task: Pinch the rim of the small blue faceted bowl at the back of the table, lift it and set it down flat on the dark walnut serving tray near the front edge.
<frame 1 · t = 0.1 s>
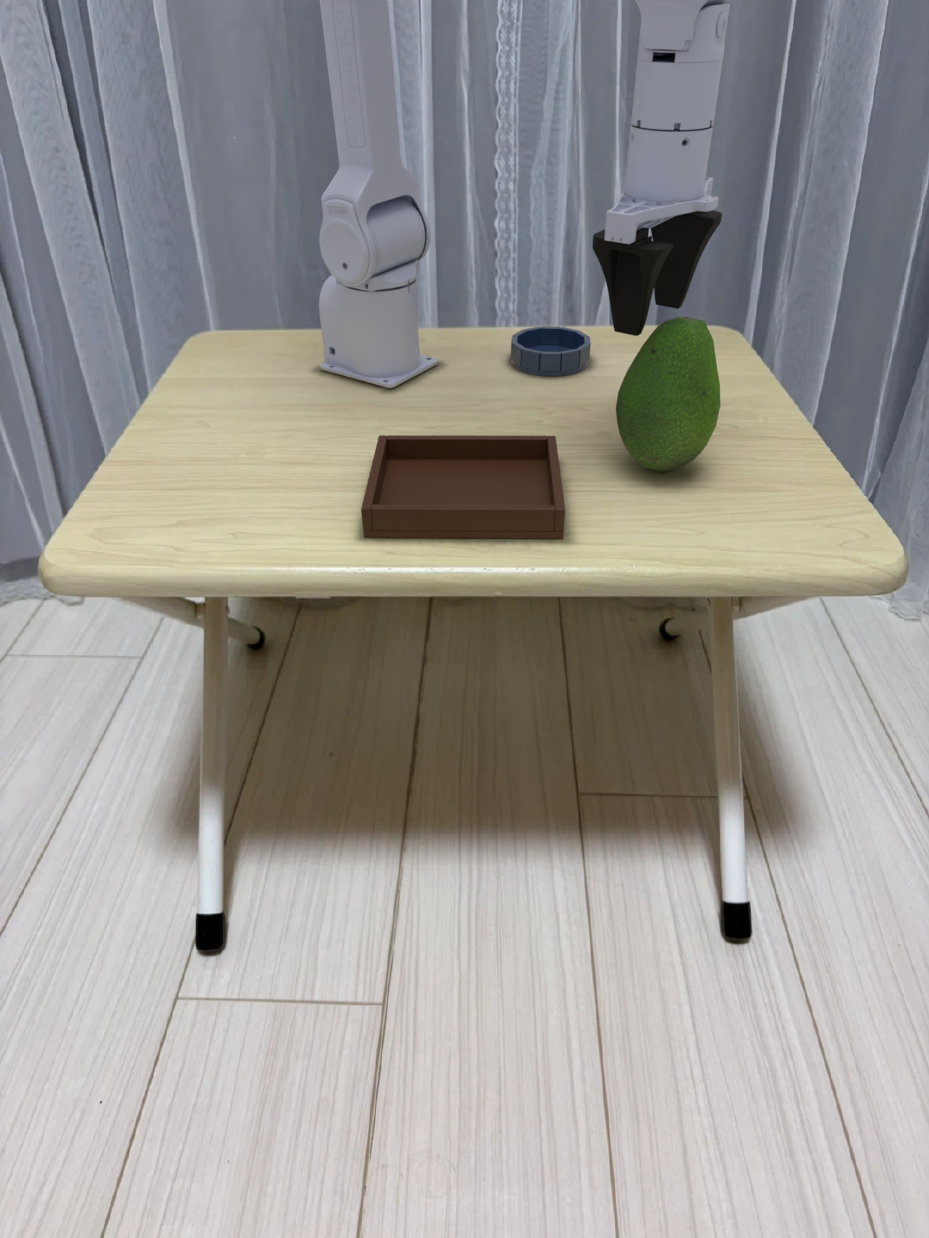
hand: (648, 318, 69), 10 cm above the table, tool pointing down, fingers open, 7 cm apart
fruit: (658, 467, 71), on the table
blue faceted bowl: (549, 361, 89), on the table
tray: (465, 497, 67), on the table
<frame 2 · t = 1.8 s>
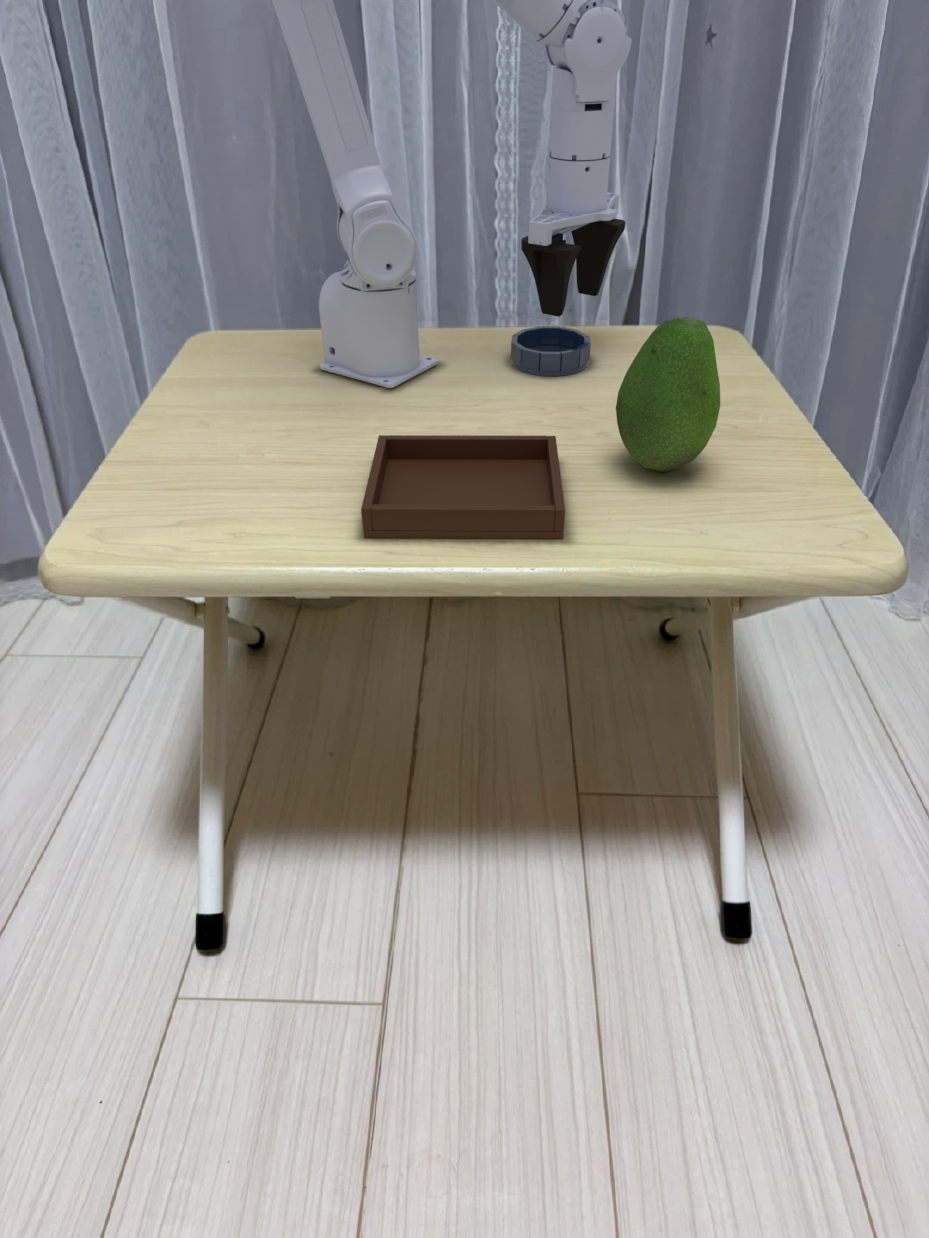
hand: (570, 304, 89), 5 cm above the table, tool pointing down, fingers open, 7 cm apart
nothing on the table moved.
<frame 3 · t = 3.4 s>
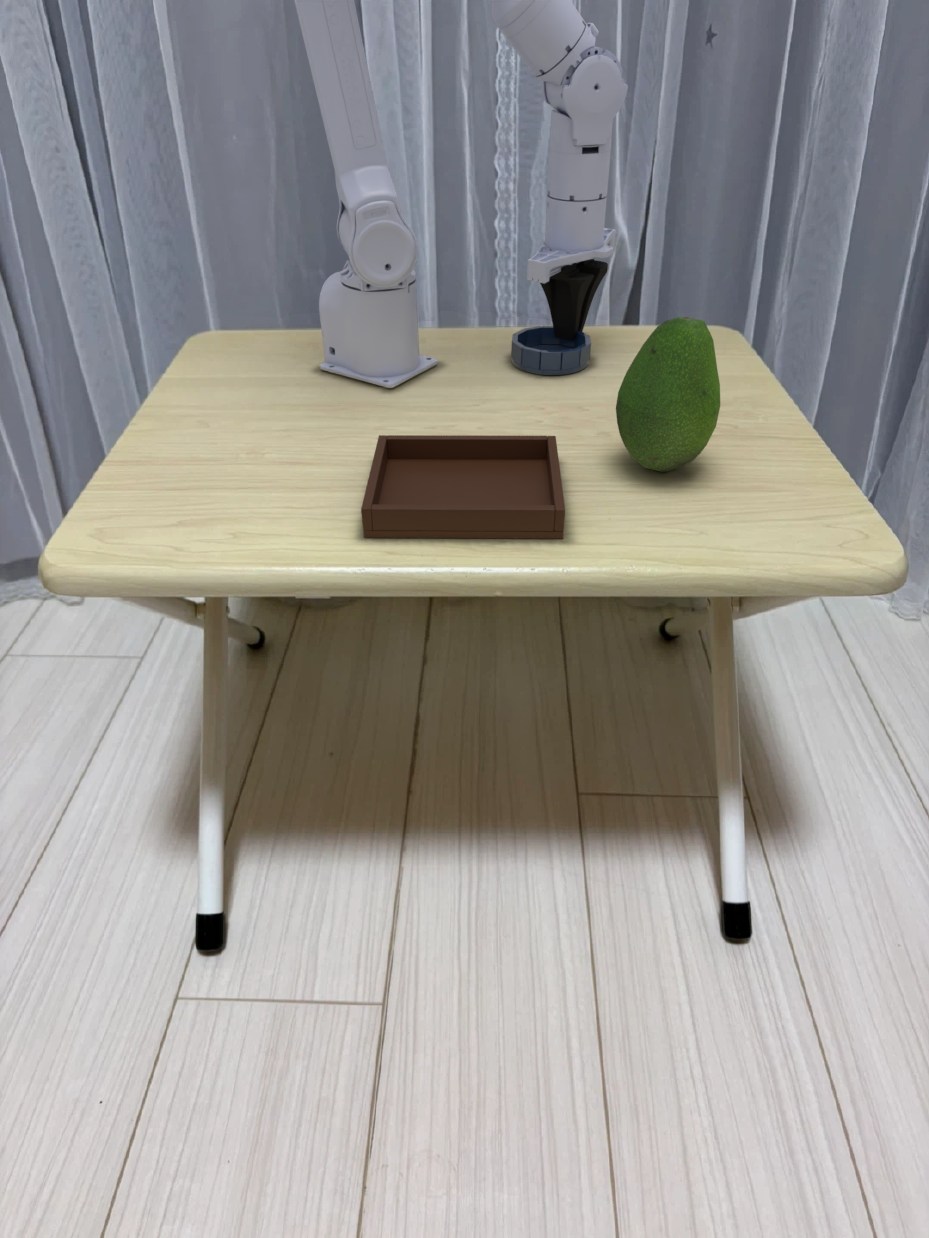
hand: (568, 336, 91), 2 cm above the table, tool pointing down, fingers closed on blue faceted bowl, 1 cm apart
blue faceted bowl: (550, 360, 89), on the table, touching gripper
everything else where it was.
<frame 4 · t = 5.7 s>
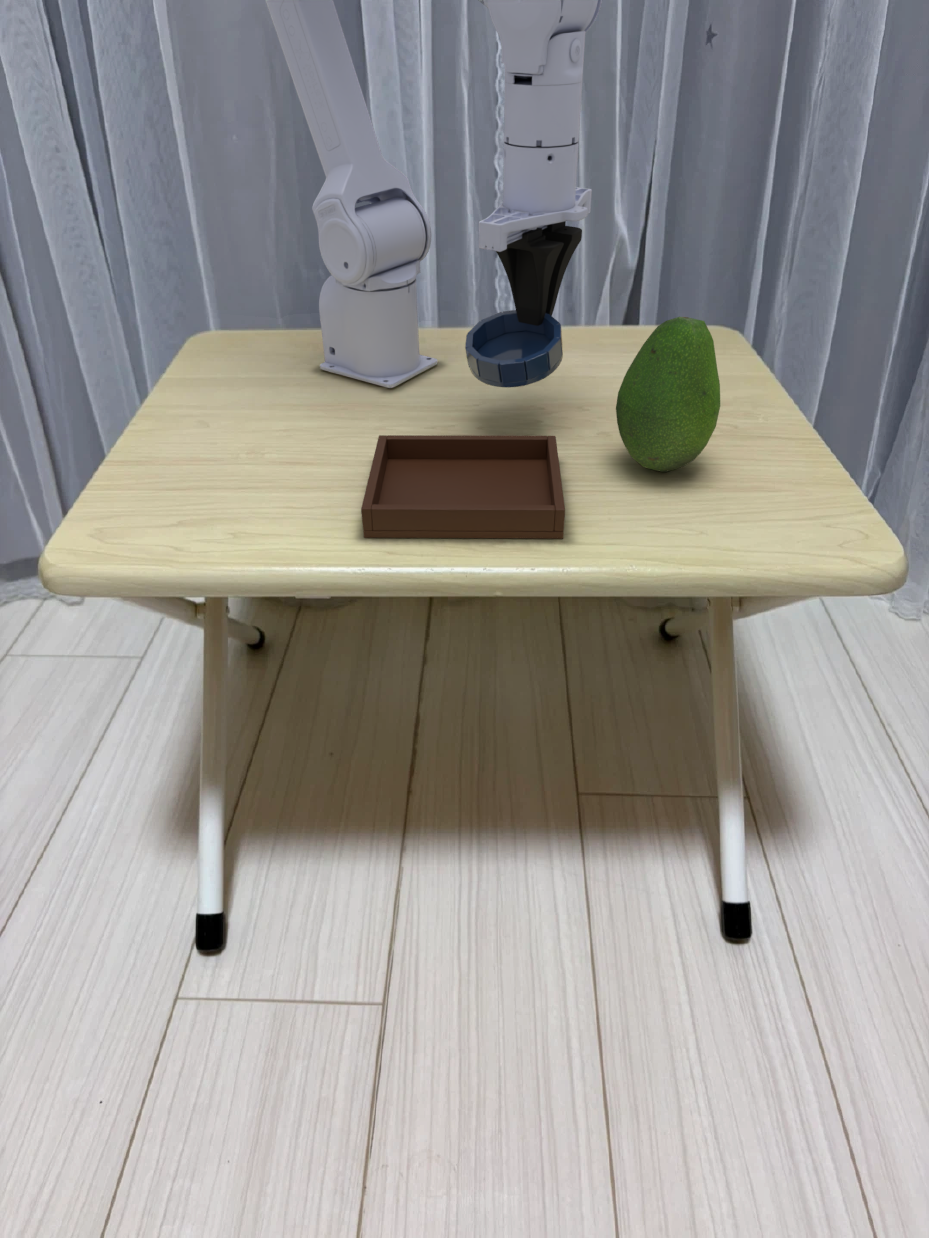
hand: (534, 320, 74), 8 cm above the table, tool pointing down, fingers closed on blue faceted bowl
blue faceted bowl: (516, 359, 74), point 6 cm above the table, tilted 15°, touching gripper
everything else where it was.
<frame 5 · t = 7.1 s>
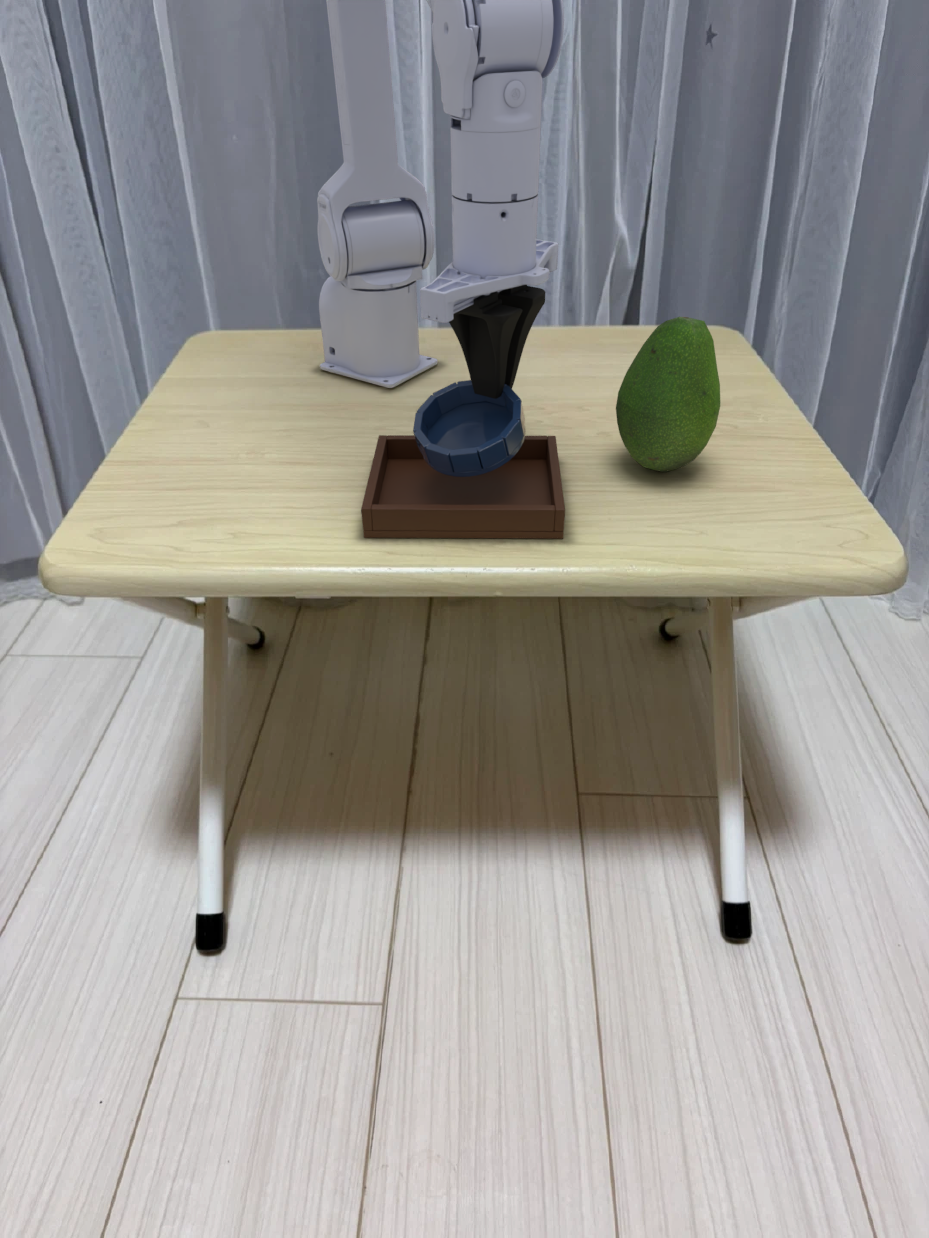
hand: (493, 391, 65), 7 cm above the table, tool pointing down, fingers closed on blue faceted bowl
blue faceted bowl: (472, 438, 65), point 5 cm above the table, tilted 20°, touching gripper
everything else where it was.
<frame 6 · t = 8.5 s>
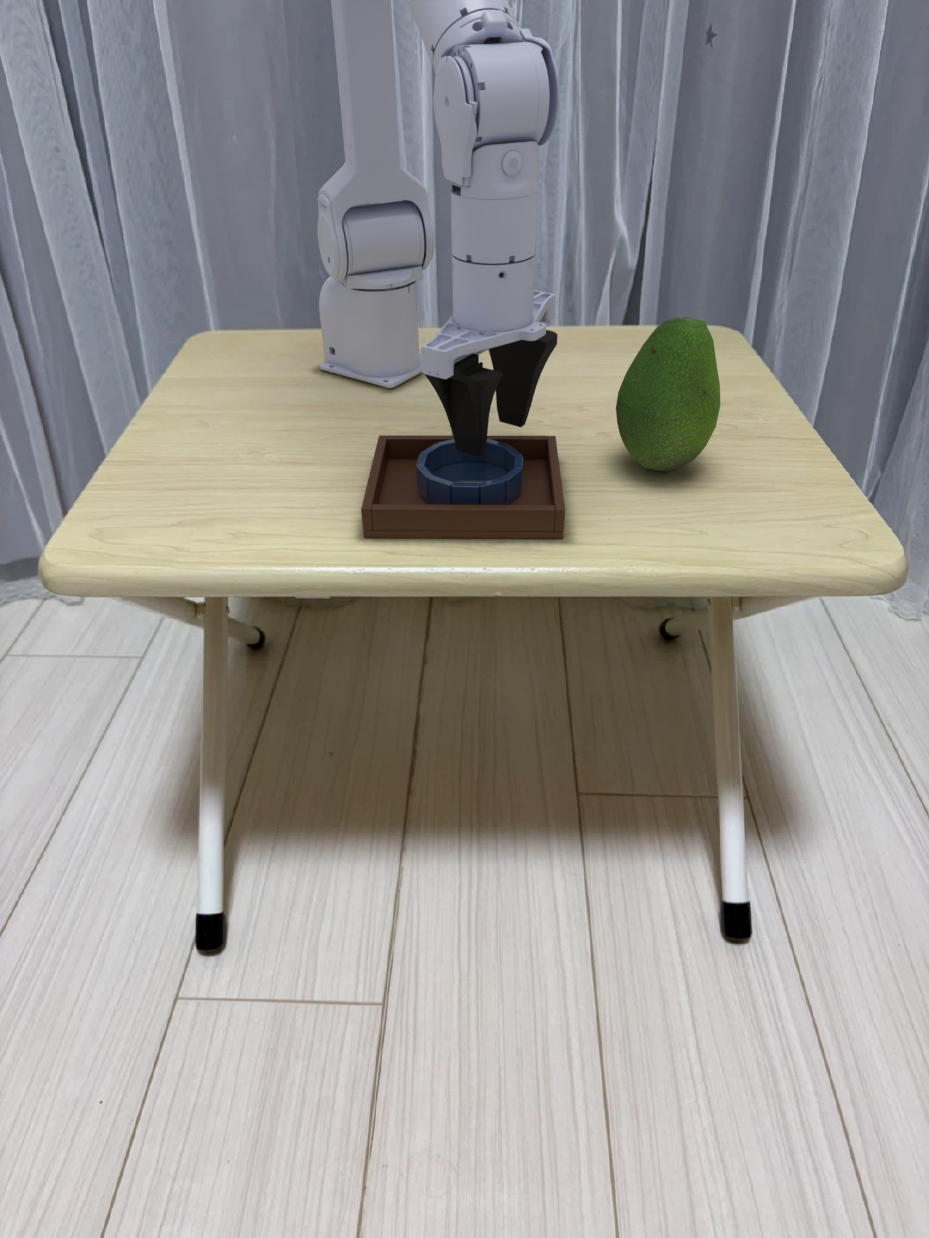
hand: (491, 437, 67), 4 cm above the table, tool pointing down, fingers open, 5 cm apart
blue faceted bowl: (470, 487, 67), point 1 cm above the table, touching tray
everything else where it was.
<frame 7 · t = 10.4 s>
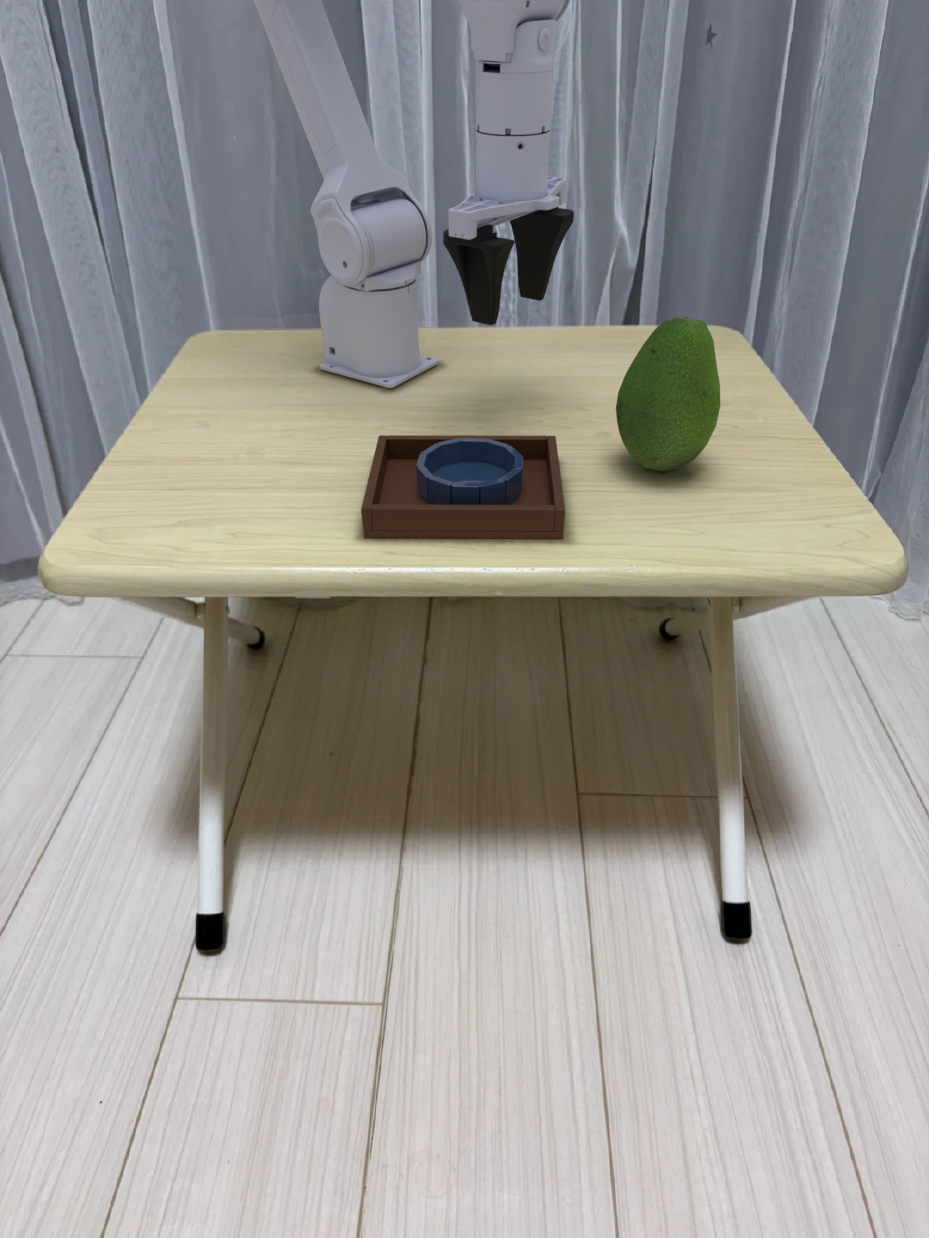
hand: (508, 309, 74), 9 cm above the table, tool pointing down, fingers open, 7 cm apart
nothing on the table moved.
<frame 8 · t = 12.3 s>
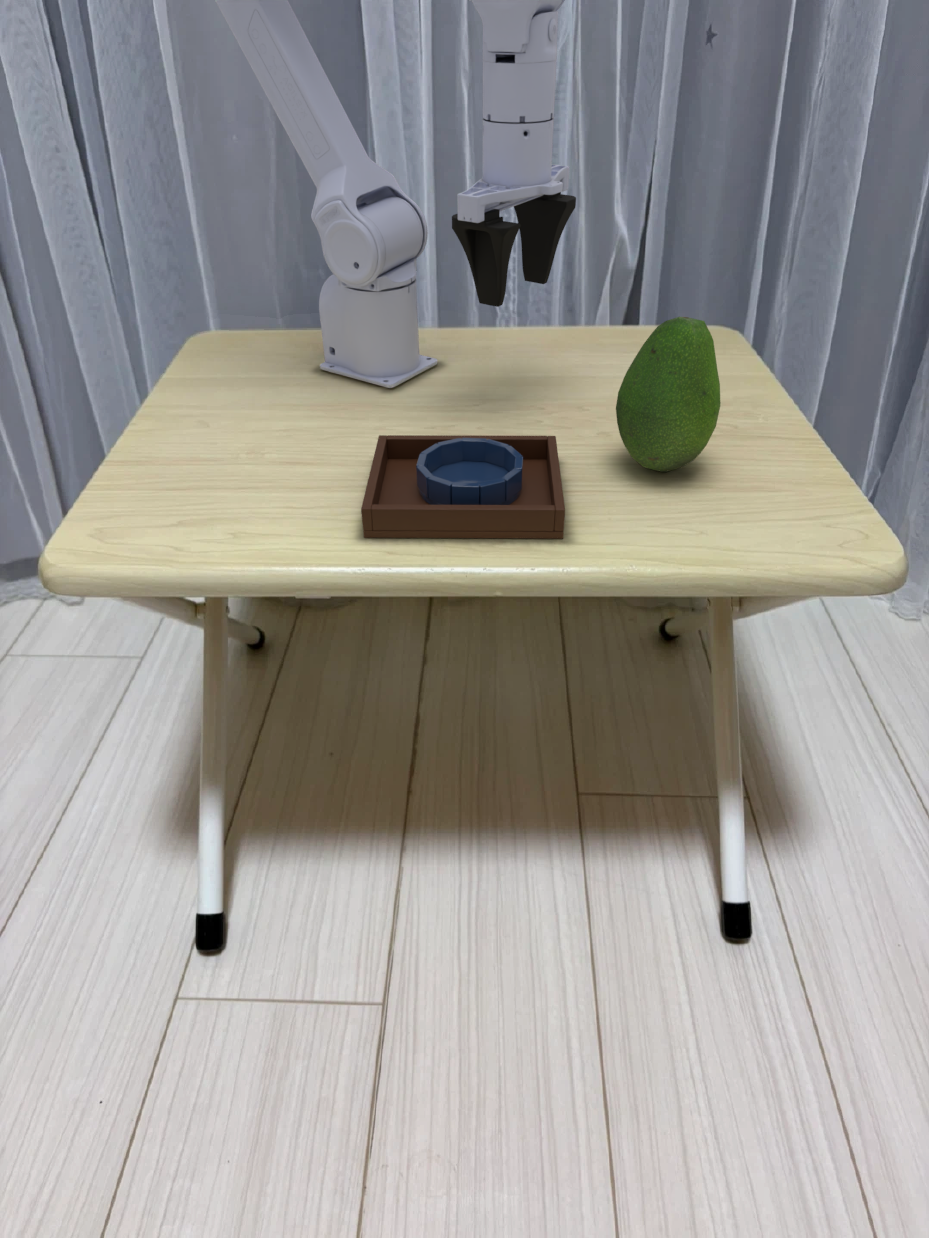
hand: (514, 292, 77), 9 cm above the table, tool pointing down, fingers open, 7 cm apart
nothing on the table moved.
at the end: blue faceted bowl inside the target area in the tray (0.6 cm from its centre), point 0.6 cm above the tray's base; blue faceted bowl tilted 0°; the gripper is holding nothing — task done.
